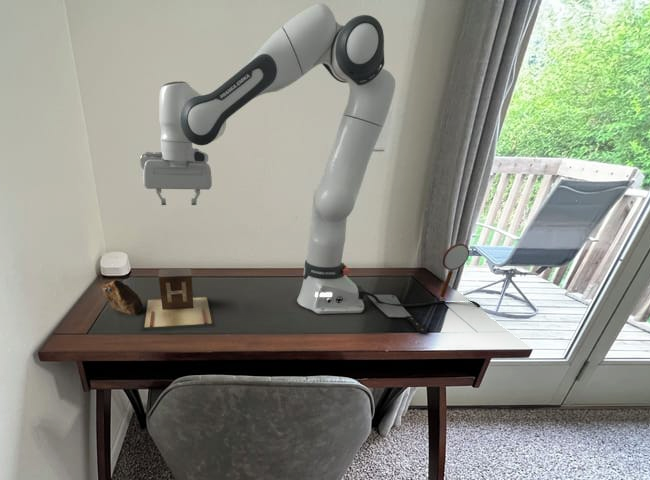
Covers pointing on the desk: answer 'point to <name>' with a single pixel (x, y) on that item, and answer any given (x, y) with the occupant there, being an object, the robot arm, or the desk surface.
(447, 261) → the magnifying glass
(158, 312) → the game board
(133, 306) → the decorative rock
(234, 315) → the desk surface
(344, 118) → the robot arm
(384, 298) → the cleaver
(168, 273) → the tall rectangular block
